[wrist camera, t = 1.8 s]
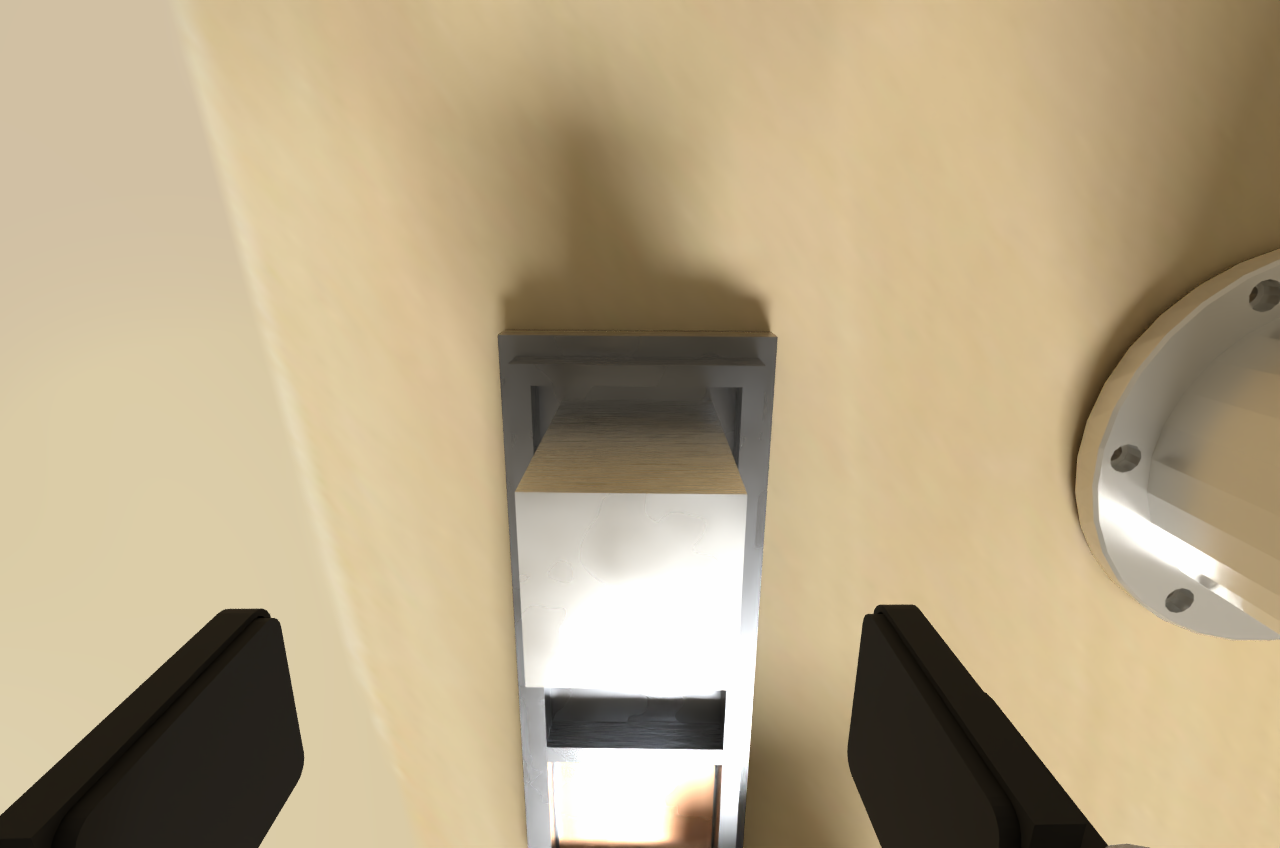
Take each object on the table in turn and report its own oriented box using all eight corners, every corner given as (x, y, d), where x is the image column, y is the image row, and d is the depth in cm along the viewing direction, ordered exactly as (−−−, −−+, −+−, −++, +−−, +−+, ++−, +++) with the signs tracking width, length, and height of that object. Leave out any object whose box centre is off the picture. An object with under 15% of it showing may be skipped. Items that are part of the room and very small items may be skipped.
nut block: (711, 400, 19) (747, 494, 12) (706, 536, 20) (735, 689, 13) (562, 399, 19) (514, 492, 12) (566, 535, 20) (525, 686, 13)
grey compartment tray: (771, 331, 19) (786, 343, 17) (736, 863, 25) (744, 920, 23) (505, 329, 19) (487, 341, 17) (534, 860, 25) (524, 916, 23)
